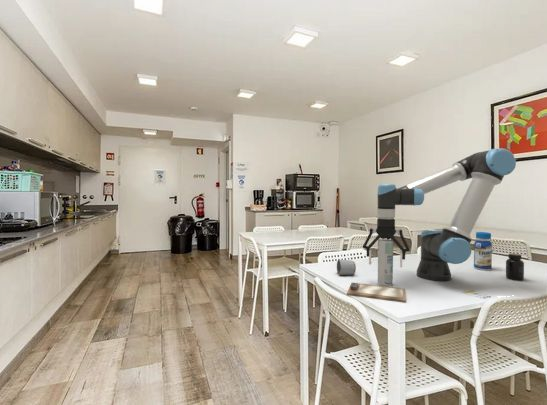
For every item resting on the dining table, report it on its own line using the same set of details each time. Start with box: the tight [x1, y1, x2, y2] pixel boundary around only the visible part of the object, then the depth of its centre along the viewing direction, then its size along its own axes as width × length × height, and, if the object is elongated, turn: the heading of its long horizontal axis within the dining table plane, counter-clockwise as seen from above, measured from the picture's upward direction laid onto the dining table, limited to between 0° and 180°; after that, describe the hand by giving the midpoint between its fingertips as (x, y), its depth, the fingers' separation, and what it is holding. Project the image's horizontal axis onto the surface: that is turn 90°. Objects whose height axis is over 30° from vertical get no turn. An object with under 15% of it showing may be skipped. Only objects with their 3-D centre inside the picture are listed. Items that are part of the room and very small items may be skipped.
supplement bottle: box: [505, 253, 525, 282], centre depth 143 cm, size 7×7×12 cm
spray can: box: [377, 238, 394, 287], centre depth 134 cm, size 6×6×20 cm
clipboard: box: [346, 282, 407, 303], centre depth 122 cm, size 22×15×2 cm
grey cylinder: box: [336, 259, 357, 276], centre depth 151 cm, size 11×8×8 cm
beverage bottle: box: [473, 231, 494, 271], centre depth 162 cm, size 8×8×20 cm
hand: (385, 265), depth 134 cm, fingers open, 12 cm apart
